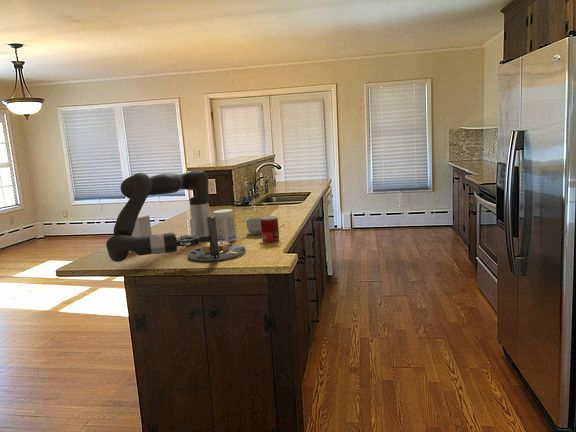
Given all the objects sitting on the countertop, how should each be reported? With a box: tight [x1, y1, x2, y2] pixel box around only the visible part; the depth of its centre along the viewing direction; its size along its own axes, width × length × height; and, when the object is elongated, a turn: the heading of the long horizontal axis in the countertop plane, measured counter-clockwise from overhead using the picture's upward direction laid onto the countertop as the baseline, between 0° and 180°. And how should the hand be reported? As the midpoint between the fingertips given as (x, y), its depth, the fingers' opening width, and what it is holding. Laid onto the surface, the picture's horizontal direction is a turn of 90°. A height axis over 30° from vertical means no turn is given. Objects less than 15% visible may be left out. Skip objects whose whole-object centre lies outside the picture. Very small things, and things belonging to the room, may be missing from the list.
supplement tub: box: [212, 208, 237, 243], centre depth 219 cm, size 10×10×15 cm
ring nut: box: [202, 215, 230, 258], centre depth 188 cm, size 20×11×16 cm, turn 6°
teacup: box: [245, 216, 263, 235], centre depth 232 cm, size 14×11×8 cm
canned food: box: [261, 215, 280, 243], centre depth 213 cm, size 8×8×11 cm
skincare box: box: [132, 214, 153, 237], centre depth 213 cm, size 8×7×16 cm
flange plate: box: [187, 242, 246, 263], centre depth 194 cm, size 24×24×5 cm
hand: (209, 238), depth 179 cm, fingers closed
